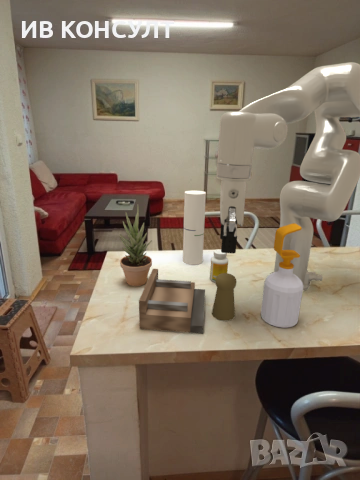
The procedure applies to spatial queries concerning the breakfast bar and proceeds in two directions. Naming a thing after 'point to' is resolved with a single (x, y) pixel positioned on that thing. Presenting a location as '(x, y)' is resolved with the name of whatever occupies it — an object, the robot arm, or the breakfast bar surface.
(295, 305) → the soap bottle
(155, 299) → the loading dock
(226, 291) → the olive rounded upright piece
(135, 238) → the potted plant
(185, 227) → the cylindrical container
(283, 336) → the breakfast bar surface
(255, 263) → the breakfast bar surface
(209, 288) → the breakfast bar surface
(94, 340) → the breakfast bar surface
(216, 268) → the supplement bottle
